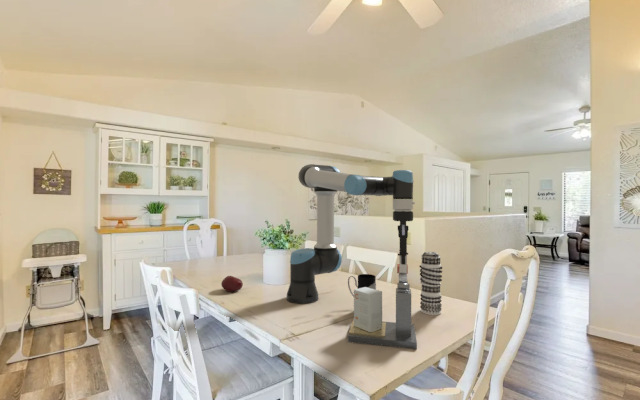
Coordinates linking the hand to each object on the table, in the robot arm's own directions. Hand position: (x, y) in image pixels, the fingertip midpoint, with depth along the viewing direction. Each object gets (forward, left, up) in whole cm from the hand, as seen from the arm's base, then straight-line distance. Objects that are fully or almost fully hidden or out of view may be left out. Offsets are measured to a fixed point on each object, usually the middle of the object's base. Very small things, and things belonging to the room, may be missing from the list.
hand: (403, 272), depth 124 cm
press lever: (0, -3, -2) cm, 4 cm away
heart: (-86, +25, -20) cm, 92 cm away
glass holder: (-17, +12, -20) cm, 29 cm away
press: (-7, -13, -20) cm, 25 cm away
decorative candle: (+12, +17, -20) cm, 29 cm away
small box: (-12, -13, -17) cm, 25 cm away
